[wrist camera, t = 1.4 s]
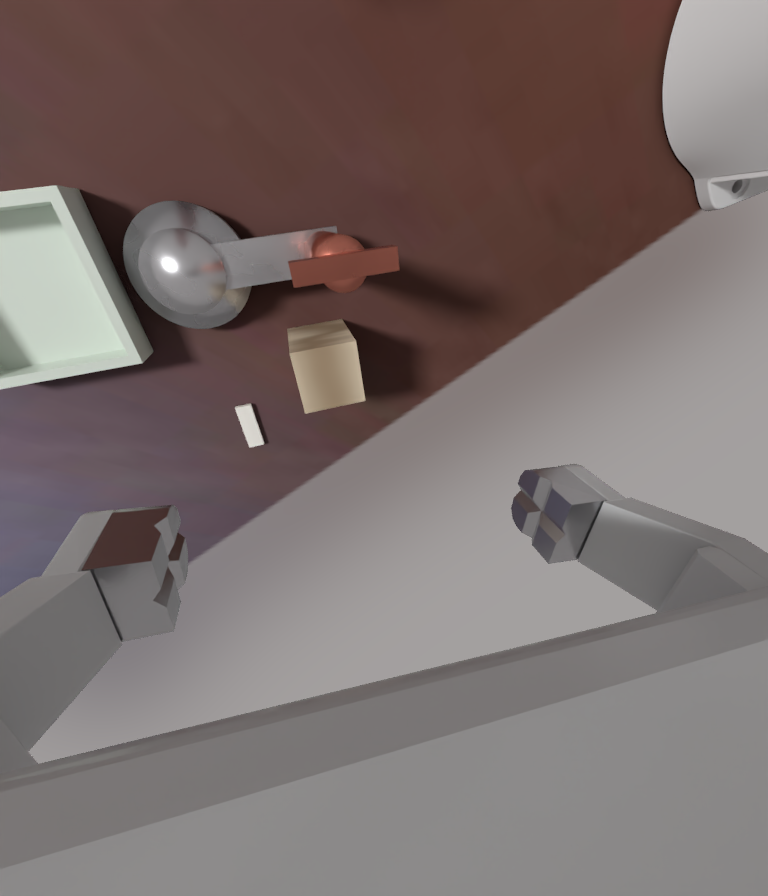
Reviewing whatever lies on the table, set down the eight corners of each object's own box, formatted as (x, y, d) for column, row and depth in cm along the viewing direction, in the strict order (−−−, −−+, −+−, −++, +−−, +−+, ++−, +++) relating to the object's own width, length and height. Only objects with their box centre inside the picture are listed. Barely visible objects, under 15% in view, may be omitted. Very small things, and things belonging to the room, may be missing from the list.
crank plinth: (231, 194, 22) (229, 193, 21) (265, 314, 26) (265, 318, 25) (106, 210, 21) (98, 209, 20) (160, 333, 25) (155, 337, 24)
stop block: (341, 319, 27) (355, 340, 22) (350, 370, 30) (365, 400, 25) (287, 328, 27) (289, 353, 22) (300, 380, 29) (305, 413, 24)
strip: (250, 403, 29) (250, 404, 29) (264, 442, 31) (264, 444, 31) (235, 406, 29) (234, 408, 29) (249, 445, 31) (249, 447, 30)
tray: (78, 188, 21) (56, 185, 18) (153, 351, 26) (142, 363, 23) (-114, 211, 19) (-161, 210, 17) (5, 378, 24) (-21, 393, 22)
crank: (167, 314, 23) (102, 368, 15) (133, 233, 21) (33, 242, 12) (360, 282, 25) (403, 313, 16) (349, 204, 23) (392, 193, 14)
